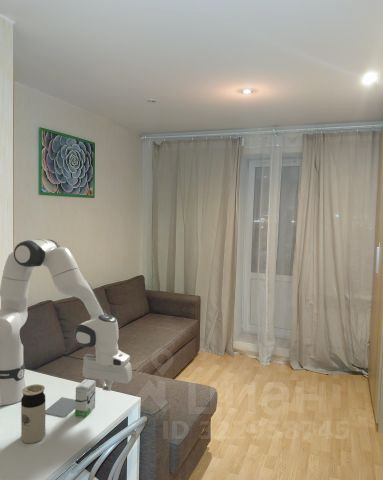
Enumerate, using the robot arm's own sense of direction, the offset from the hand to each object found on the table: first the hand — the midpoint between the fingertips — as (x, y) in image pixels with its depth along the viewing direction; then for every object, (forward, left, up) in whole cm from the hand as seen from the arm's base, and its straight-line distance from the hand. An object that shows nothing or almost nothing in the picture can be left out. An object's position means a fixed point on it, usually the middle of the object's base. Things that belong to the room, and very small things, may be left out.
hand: (106, 389), depth 150 cm
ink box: (-9, 0, -11) cm, 14 cm away
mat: (-20, 0, -11) cm, 22 cm away
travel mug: (-18, -21, -11) cm, 30 cm away
